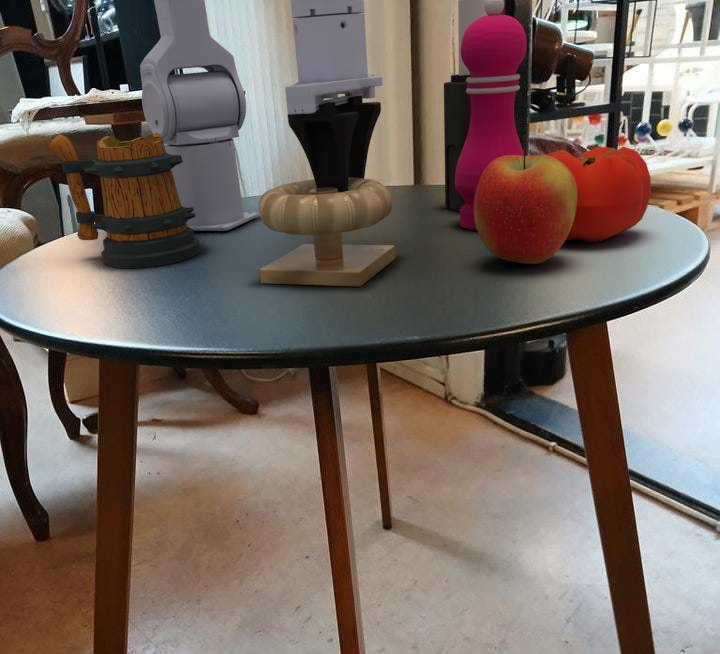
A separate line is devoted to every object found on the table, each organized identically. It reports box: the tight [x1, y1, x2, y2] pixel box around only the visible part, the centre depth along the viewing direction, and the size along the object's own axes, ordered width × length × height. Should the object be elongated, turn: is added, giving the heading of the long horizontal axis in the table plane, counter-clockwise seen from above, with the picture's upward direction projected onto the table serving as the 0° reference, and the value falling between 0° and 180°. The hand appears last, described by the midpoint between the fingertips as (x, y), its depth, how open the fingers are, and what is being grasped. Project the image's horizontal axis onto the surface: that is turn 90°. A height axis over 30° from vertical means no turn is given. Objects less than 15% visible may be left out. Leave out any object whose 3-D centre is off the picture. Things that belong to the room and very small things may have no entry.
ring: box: [258, 178, 393, 236], centre depth 64 cm, size 11×11×3 cm
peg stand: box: [259, 187, 396, 288], centre depth 65 cm, size 9×9×7 cm
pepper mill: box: [455, 0, 528, 231], centre depth 74 cm, size 7×7×20 cm
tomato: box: [546, 146, 652, 243], centre depth 70 cm, size 11×11×8 cm
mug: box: [48, 132, 201, 269], centre depth 74 cm, size 13×10×12 cm
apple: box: [474, 134, 577, 265], centre depth 62 cm, size 8×8×10 cm
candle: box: [443, 0, 487, 213], centre depth 81 cm, size 5×5×25 cm
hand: (342, 197), depth 67 cm, fingers closed on ring, 3 cm apart
